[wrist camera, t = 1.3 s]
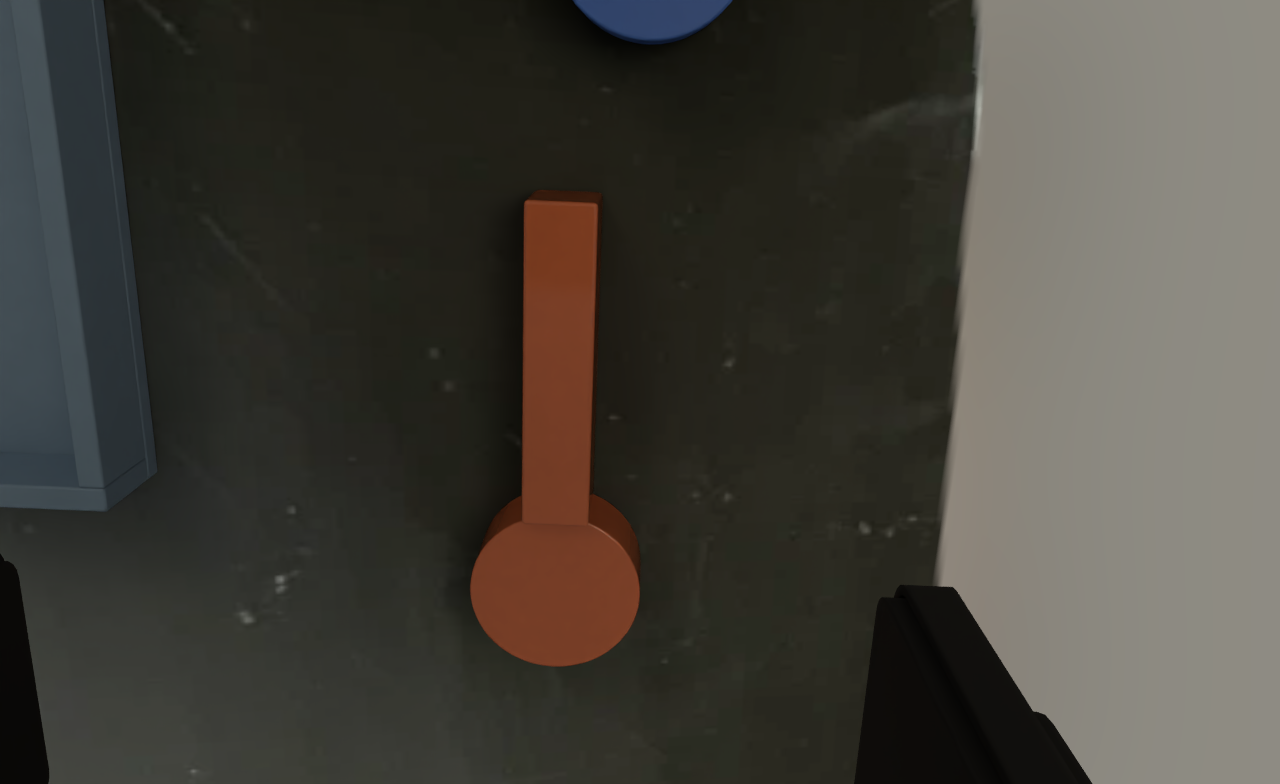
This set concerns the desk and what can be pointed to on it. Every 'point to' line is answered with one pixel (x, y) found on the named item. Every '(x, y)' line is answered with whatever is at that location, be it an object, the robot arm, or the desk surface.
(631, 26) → the blue spoon
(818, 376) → the desk surface
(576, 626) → the terracotta spoon
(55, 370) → the blue tray
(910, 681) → the robot arm
